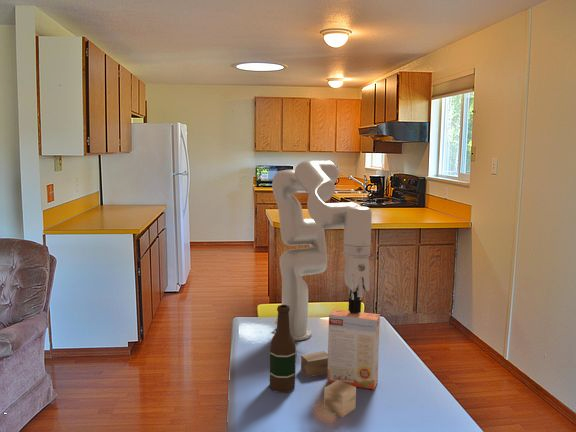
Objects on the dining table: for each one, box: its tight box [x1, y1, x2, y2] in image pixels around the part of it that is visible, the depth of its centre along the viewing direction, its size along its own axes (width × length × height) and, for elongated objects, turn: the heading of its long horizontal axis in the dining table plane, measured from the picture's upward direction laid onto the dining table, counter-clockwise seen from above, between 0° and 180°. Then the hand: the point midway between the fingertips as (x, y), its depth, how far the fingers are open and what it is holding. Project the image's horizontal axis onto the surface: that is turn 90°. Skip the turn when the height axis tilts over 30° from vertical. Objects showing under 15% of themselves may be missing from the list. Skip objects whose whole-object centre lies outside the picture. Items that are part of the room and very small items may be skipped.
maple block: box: [323, 380, 357, 418], centre depth 131 cm, size 6×6×6 cm
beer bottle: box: [269, 304, 297, 393], centre depth 141 cm, size 8×8×24 cm
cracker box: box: [327, 308, 381, 391], centre depth 145 cm, size 14×6×21 cm, turn 70°
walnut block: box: [300, 350, 328, 378], centre depth 153 cm, size 5×8×5 cm, turn 113°
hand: (354, 311), depth 144 cm, fingers closed
